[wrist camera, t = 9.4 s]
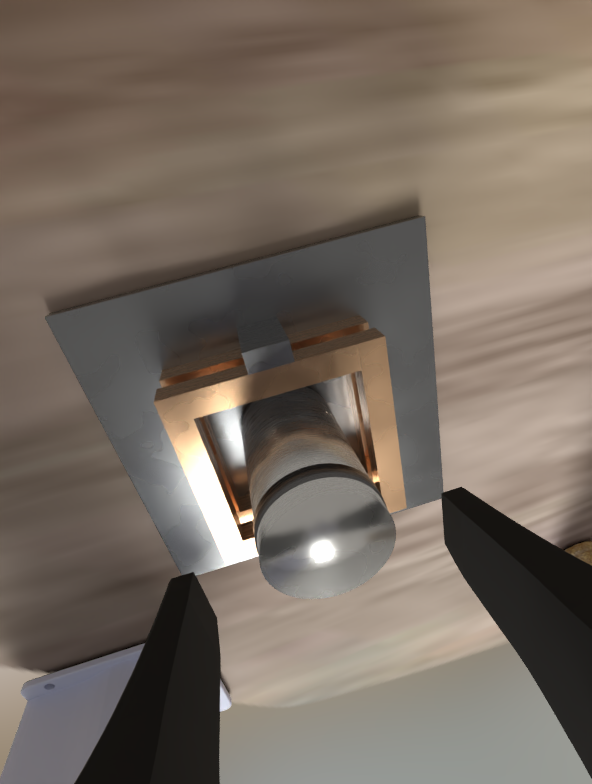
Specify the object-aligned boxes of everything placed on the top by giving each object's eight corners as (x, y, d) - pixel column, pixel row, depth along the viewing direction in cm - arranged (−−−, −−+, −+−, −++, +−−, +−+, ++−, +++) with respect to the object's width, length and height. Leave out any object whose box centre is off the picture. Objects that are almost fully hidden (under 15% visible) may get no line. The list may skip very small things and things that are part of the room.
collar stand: (184, 571, 21) (180, 630, 18) (49, 313, 15) (10, 342, 12) (439, 491, 22) (472, 535, 19) (419, 215, 15) (465, 220, 13)
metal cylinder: (255, 476, 19) (279, 616, 12) (226, 401, 17) (238, 521, 11) (340, 449, 19) (405, 572, 13) (321, 371, 17) (387, 472, 11)
